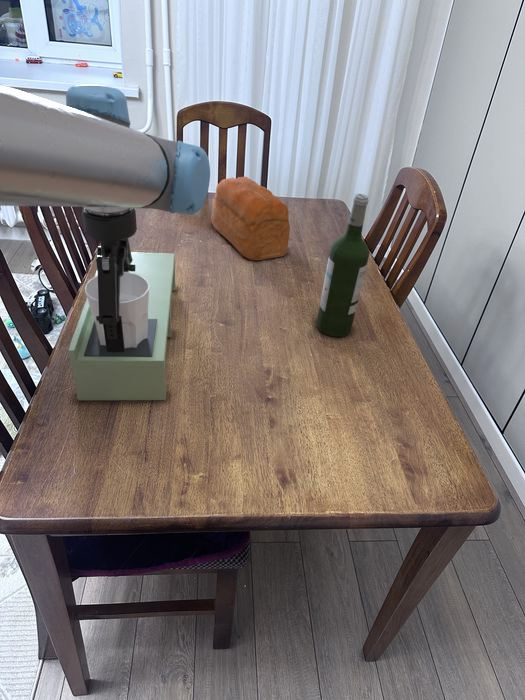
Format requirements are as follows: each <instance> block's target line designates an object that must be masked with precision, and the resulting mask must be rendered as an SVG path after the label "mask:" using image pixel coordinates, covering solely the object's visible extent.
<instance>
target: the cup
mask: <svg viewBox="0 0 525 700" xmlns="http://www.w3.org/2000/svg"><path fill="white" fill-rule="evenodd" d="M94 276H95V275H94ZM84 292H85V294H86V299H88V302H89V306H90V309H91V312H92V315H93V318H94V320H95V323H96V328H97V332H98V336H99V341H100V345H106V342H105V335H104V328H103V324H99V321H97V320H96V316H99V302H98V276H95V277H92V278H90V279H89V280H88V281H87V282H86V284H85V285H84ZM148 302H149V283H148V281H147V280H146V279H145V278H144V277H142V276H140V275H138V274H135V273H130V272H124V274H123V276H122V277H120V310H119V316H121V318H122V328H123V337H124V347H125V348H130V347H133V348H137V345H138V344H139V343H140V342H141V341H142V340H143V339H146V338H147V337H148Z"/></svg>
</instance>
